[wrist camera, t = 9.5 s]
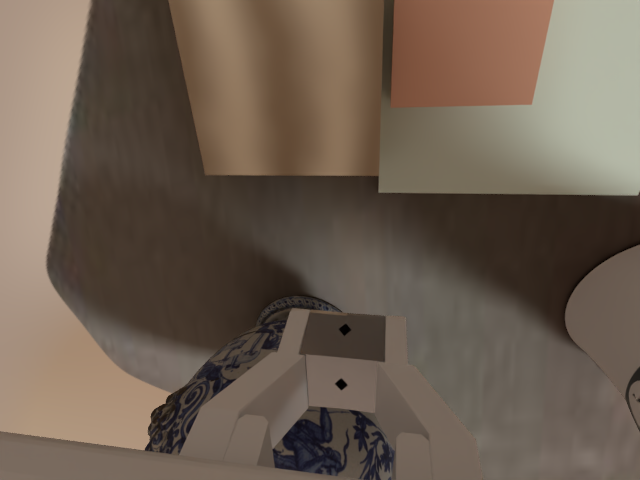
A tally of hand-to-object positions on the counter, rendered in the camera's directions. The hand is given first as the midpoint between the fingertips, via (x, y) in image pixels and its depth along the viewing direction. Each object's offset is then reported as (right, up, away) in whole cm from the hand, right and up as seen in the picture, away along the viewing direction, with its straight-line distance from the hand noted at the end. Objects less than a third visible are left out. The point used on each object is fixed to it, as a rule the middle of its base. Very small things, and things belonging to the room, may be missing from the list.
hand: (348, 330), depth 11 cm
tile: (+9, +16, +16) cm, 24 cm away
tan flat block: (-3, +16, +18) cm, 25 cm away
